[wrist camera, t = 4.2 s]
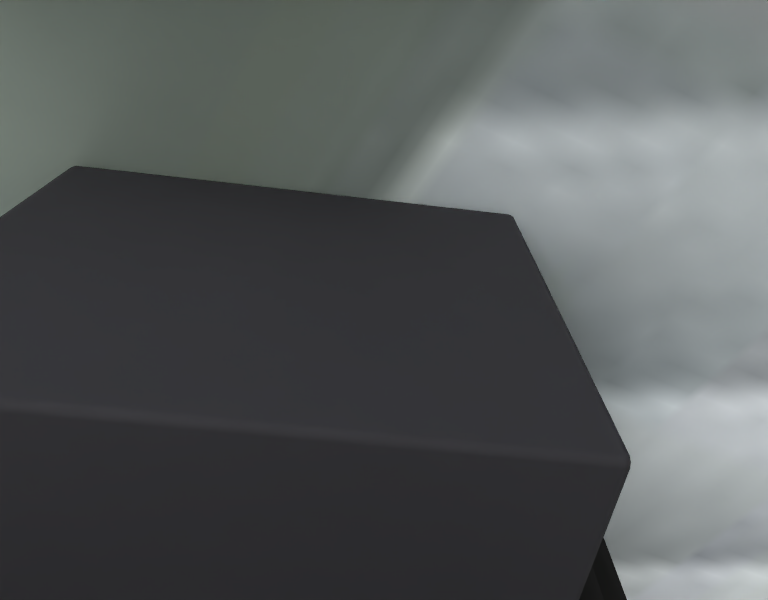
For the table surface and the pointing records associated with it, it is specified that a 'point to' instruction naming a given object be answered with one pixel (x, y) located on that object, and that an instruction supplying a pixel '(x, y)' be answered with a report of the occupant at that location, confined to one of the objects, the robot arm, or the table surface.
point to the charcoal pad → (288, 401)
